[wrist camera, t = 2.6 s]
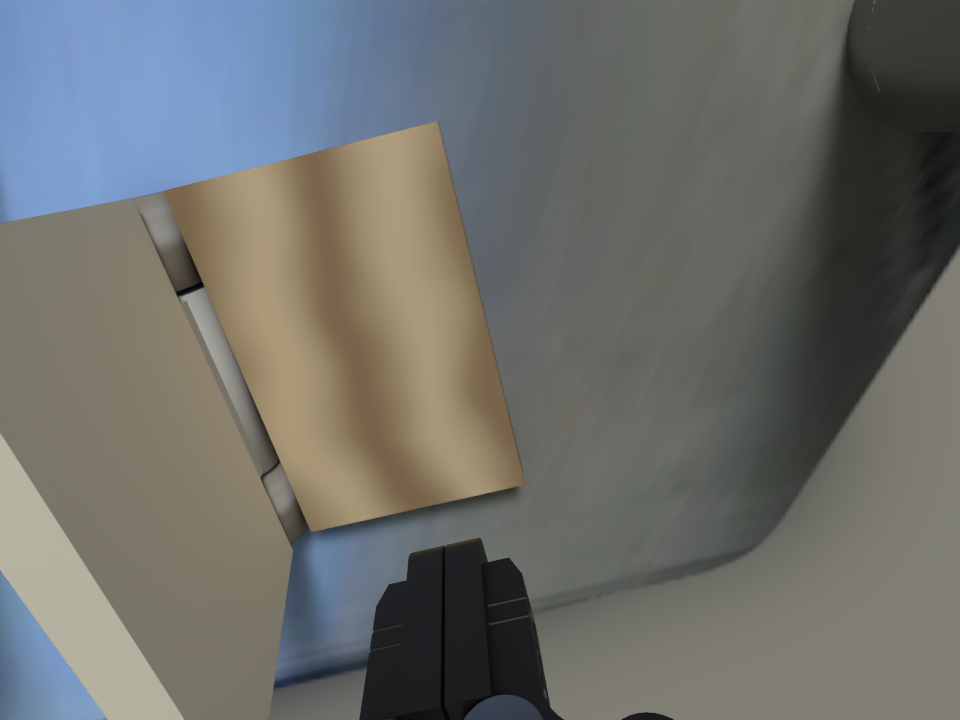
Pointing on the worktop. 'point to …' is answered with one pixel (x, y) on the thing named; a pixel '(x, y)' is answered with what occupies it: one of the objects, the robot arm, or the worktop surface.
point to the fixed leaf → (350, 325)
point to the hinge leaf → (134, 475)
